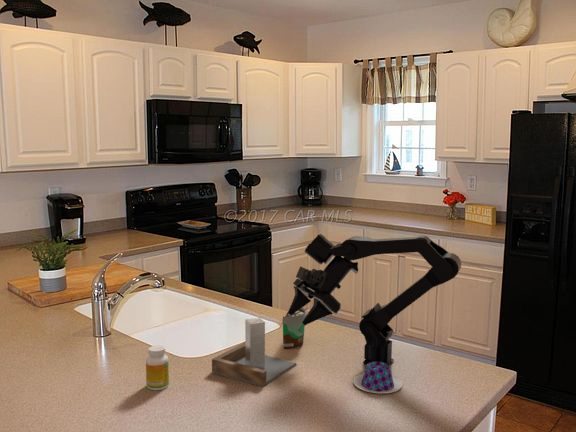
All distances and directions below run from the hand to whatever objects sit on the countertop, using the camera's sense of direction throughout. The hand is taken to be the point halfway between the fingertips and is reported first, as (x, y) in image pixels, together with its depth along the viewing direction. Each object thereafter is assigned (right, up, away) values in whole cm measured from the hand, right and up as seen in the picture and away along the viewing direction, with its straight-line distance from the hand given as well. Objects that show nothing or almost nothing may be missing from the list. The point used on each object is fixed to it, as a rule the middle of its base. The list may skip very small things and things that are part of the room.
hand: (296, 319), depth 152 cm
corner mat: (-11, -13, -2) cm, 17 cm away
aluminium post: (-11, -12, -2) cm, 16 cm away
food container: (0, -11, +16) cm, 19 cm away
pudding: (+20, -15, -11) cm, 27 cm away
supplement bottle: (-34, -14, -13) cm, 39 cm away
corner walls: (-11, -13, -2) cm, 17 cm away
